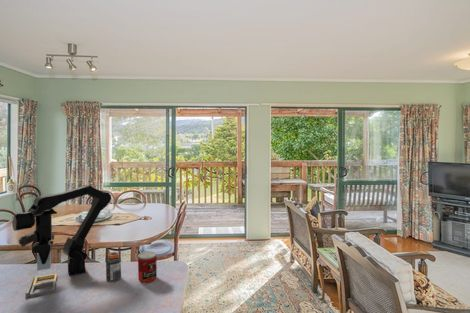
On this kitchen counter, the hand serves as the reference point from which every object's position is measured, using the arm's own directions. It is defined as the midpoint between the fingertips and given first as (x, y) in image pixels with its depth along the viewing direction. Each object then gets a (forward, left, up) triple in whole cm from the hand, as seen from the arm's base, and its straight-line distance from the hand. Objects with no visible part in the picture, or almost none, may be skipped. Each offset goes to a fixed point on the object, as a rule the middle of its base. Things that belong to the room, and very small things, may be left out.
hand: (44, 261), depth 123 cm
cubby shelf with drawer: (0, +4, -9) cm, 10 cm away
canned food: (-39, +18, -9) cm, 44 cm away
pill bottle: (-26, +11, -9) cm, 30 cm away
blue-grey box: (0, 0, -2) cm, 2 cm away
